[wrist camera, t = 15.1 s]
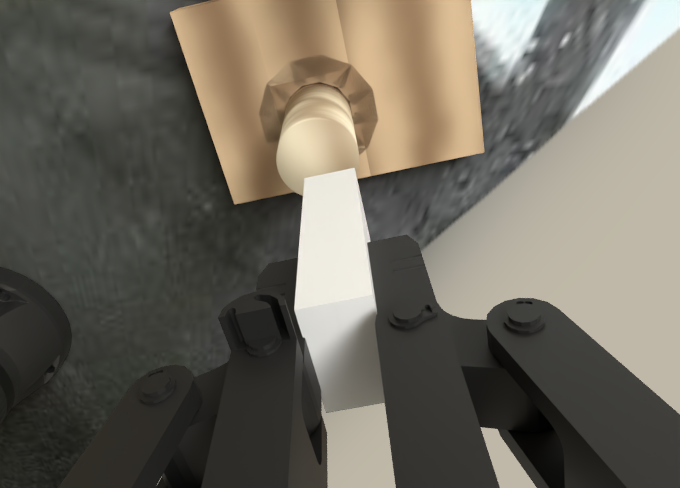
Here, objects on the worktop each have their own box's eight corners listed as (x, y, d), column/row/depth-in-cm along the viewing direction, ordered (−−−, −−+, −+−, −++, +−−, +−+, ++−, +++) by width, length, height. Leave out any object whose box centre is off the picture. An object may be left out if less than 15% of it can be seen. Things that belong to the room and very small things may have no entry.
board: (239, 190, 51) (234, 204, 48) (179, 8, 43) (169, 12, 41) (475, 141, 49) (484, 152, 47) (456, -59, 42) (465, -59, 39)
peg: (295, 145, 49) (287, 206, 37) (278, 83, 46) (265, 129, 35) (356, 132, 48) (367, 190, 37) (343, 68, 46) (350, 110, 34)
